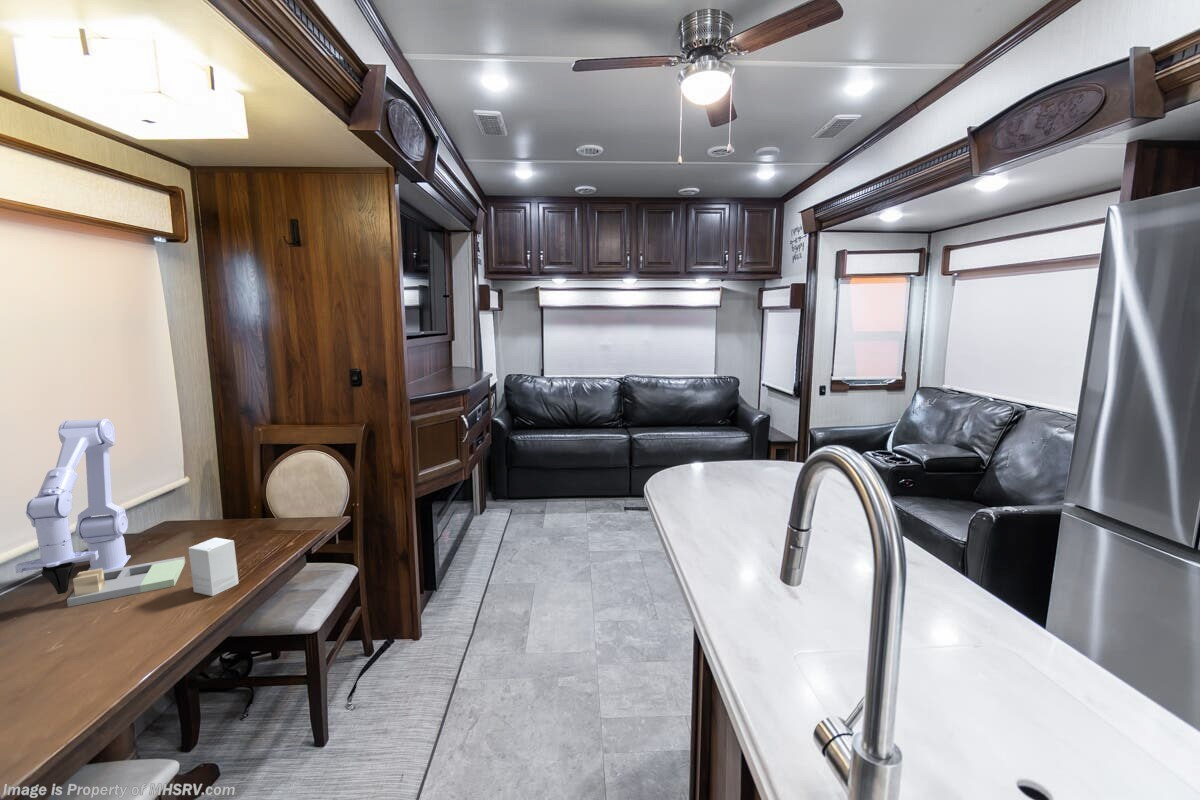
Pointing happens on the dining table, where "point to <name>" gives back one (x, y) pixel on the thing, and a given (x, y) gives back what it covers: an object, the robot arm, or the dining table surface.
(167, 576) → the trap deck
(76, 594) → the maple block
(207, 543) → the supplement box
